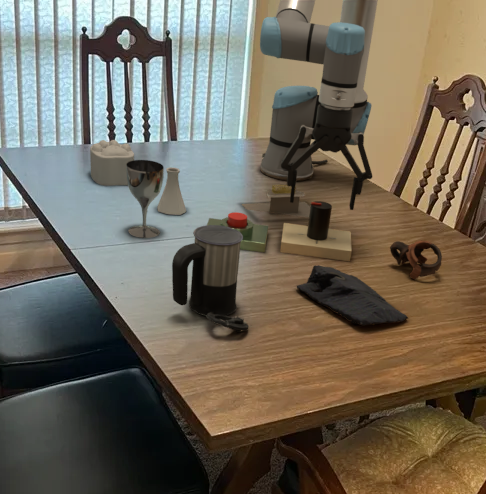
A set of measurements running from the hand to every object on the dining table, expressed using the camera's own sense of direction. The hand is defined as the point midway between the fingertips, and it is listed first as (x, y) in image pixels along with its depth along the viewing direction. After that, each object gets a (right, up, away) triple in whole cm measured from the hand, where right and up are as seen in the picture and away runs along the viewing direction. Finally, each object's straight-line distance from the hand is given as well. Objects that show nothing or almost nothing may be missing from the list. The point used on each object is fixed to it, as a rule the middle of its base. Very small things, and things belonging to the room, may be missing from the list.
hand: (321, 204), depth 173 cm
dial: (-1, -6, +5) cm, 8 cm away
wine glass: (-40, -6, +1) cm, 41 cm away
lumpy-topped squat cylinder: (-54, +15, +28) cm, 63 cm away
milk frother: (-20, -29, -27) cm, 45 cm away
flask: (-36, +2, +14) cm, 39 cm away
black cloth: (+5, -25, -17) cm, 31 cm away
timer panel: (-1, -8, +6) cm, 10 cm away
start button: (-19, -4, +2) cm, 20 cm away
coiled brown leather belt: (+21, -15, +1) cm, 26 cm away
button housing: (-20, -7, +4) cm, 21 cm away
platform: (-9, +4, +22) cm, 25 cm away
